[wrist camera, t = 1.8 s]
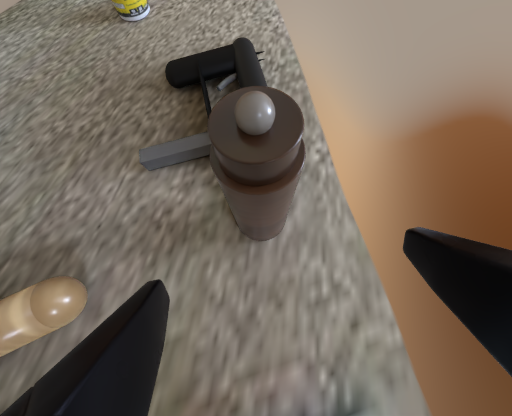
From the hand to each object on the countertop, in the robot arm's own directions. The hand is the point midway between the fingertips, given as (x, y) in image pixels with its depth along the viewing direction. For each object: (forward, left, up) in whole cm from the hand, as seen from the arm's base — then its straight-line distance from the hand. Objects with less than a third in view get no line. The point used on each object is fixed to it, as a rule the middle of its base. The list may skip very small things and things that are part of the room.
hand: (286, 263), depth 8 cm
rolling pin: (+6, +22, -12) cm, 26 cm away
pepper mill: (+6, -1, -12) cm, 13 cm away
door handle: (+18, -1, -12) cm, 22 cm away
